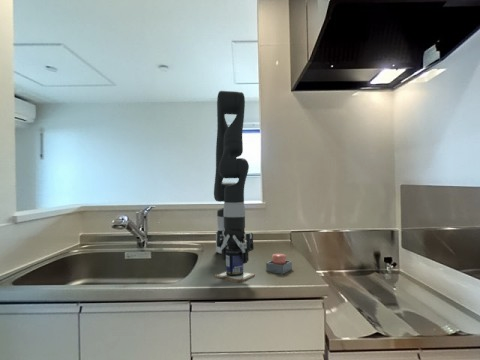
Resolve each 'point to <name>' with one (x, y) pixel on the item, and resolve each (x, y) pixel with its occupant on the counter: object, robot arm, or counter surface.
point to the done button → (279, 259)
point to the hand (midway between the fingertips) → (234, 261)
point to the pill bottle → (234, 260)
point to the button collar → (279, 267)
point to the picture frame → (235, 277)
